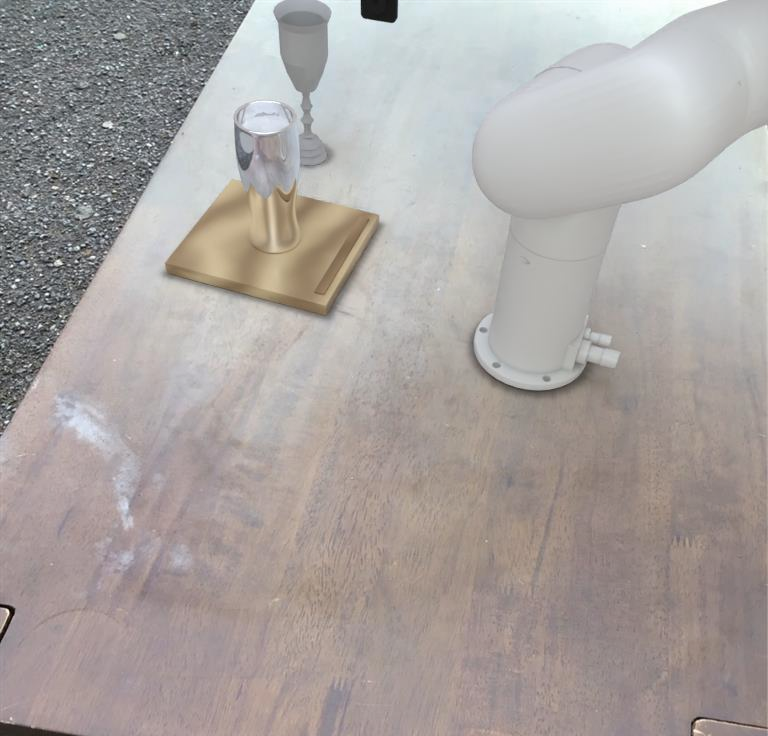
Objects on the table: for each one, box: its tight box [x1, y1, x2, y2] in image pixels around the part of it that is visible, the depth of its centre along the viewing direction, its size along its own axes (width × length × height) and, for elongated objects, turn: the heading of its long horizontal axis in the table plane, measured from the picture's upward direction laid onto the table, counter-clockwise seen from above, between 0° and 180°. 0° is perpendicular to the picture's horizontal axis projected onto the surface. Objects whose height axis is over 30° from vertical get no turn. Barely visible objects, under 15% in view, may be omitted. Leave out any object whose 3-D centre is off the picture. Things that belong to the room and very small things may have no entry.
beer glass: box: [233, 99, 301, 253], centre depth 91 cm, size 7×7×15 cm
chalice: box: [272, 0, 332, 166], centre depth 103 cm, size 7×7×18 cm
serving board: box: [164, 178, 380, 317], centre depth 98 cm, size 20×18×2 cm
